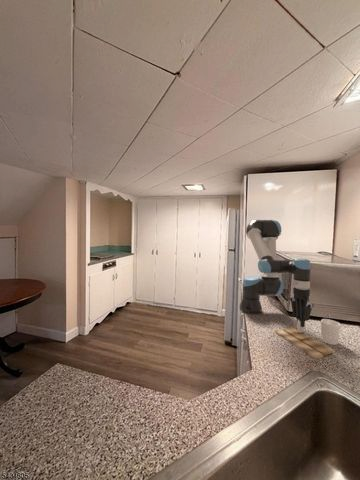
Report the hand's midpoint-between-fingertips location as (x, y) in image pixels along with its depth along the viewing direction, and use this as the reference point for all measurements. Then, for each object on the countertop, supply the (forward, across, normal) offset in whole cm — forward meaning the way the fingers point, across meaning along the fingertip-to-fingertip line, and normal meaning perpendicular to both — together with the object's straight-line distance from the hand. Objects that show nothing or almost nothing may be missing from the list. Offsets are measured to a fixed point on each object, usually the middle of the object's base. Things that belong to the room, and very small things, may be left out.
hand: (300, 331), depth 109 cm
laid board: (+2, +6, -8) cm, 10 cm away
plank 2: (+2, +12, -2) cm, 12 cm away
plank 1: (+2, 0, -2) cm, 3 cm away
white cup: (+3, +8, +10) cm, 13 cm away
